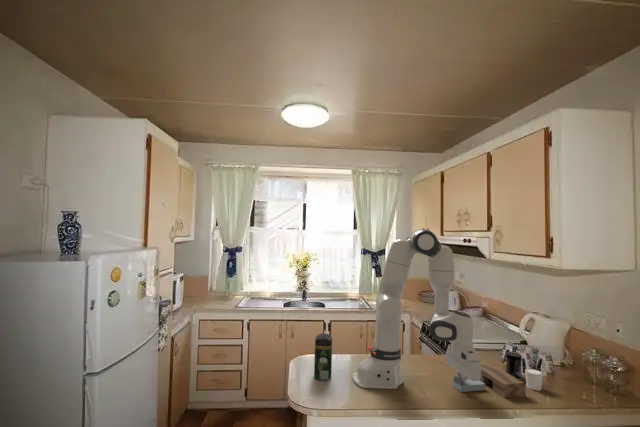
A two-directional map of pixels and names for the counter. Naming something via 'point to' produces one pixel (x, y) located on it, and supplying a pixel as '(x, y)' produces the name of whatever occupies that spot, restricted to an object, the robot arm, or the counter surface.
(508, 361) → the supplement container
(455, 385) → the blue-grey l-shaped block
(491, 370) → the wooden bridge block
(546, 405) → the counter surface
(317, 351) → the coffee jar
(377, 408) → the counter surface
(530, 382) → the white cylinder
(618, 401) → the counter surface
